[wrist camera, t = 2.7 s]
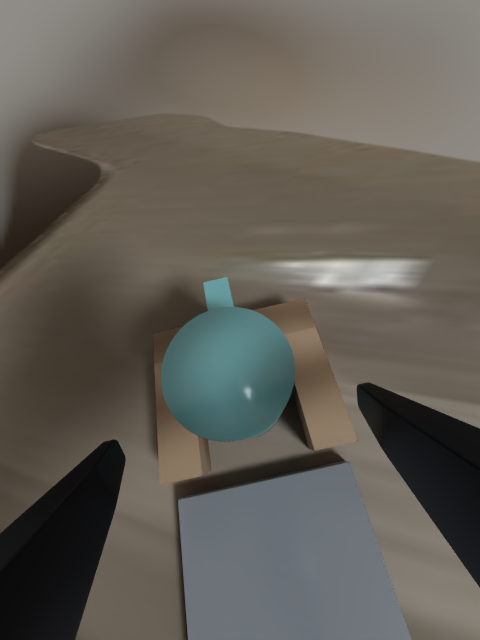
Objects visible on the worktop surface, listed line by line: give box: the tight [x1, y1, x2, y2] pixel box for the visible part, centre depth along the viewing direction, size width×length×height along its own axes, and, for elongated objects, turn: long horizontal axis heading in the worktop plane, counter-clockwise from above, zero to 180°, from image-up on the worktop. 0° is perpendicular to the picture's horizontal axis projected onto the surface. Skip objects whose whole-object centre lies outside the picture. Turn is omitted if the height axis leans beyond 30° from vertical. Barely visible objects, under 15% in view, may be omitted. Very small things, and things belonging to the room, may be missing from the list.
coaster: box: [178, 461, 411, 640], centre depth 13 cm, size 11×11×1 cm
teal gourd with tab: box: [161, 277, 295, 441], centre depth 15 cm, size 8×5×10 cm, turn 11°
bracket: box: [153, 298, 358, 485], centre depth 18 cm, size 10×12×2 cm
